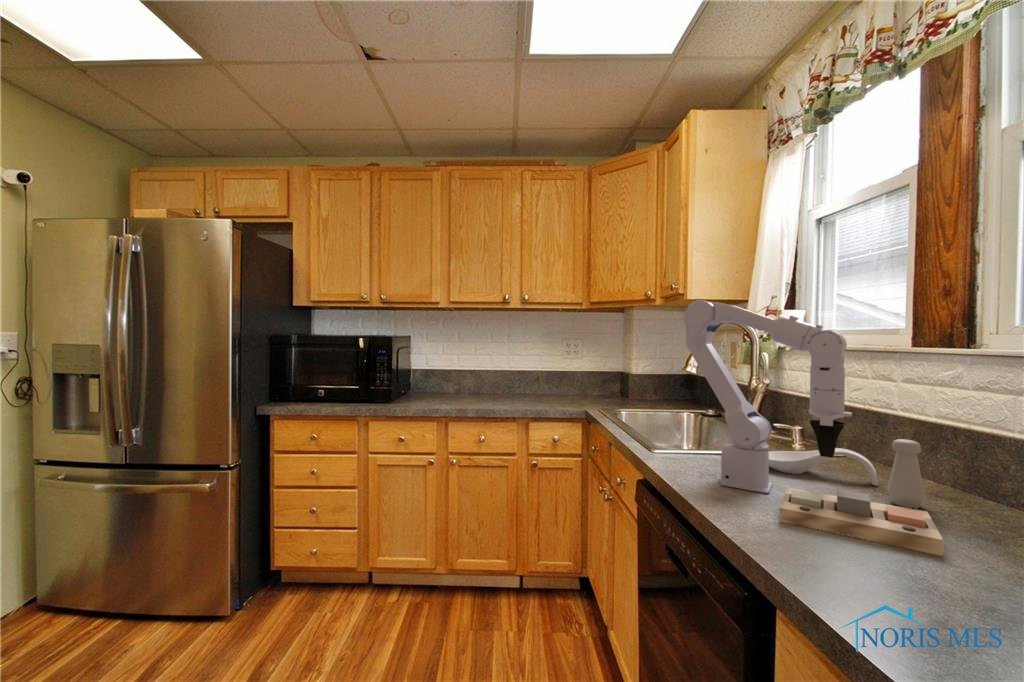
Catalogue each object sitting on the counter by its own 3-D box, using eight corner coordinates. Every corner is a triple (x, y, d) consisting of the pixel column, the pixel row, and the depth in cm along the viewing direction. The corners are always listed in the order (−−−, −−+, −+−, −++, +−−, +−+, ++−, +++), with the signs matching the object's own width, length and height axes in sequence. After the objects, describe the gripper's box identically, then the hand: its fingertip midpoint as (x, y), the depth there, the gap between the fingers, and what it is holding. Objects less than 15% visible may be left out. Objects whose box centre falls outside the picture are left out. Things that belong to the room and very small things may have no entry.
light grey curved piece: (757, 472, 111) (757, 443, 111) (764, 461, 121) (764, 435, 121) (879, 491, 97) (879, 459, 97) (875, 478, 107) (876, 448, 107)
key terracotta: (888, 531, 75) (888, 514, 75) (885, 522, 78) (885, 506, 78) (925, 539, 72) (925, 520, 72) (920, 529, 76) (921, 512, 76)
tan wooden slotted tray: (779, 521, 80) (779, 506, 80) (786, 499, 91) (786, 486, 91) (943, 556, 67) (943, 538, 67) (927, 525, 79) (927, 510, 79)
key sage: (790, 512, 83) (790, 496, 83) (792, 505, 87) (792, 489, 87) (820, 518, 80) (820, 501, 80) (821, 510, 84) (821, 494, 84)
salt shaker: (933, 511, 85) (934, 444, 85) (899, 509, 86) (899, 442, 86) (912, 501, 91) (913, 437, 91) (880, 498, 92) (881, 436, 92)
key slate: (837, 512, 79) (837, 496, 79) (836, 505, 82) (837, 489, 82) (870, 519, 76) (870, 501, 76) (868, 510, 80) (868, 494, 80)
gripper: (853, 394, 81) (852, 467, 81) (850, 387, 93) (850, 452, 93) (807, 391, 86) (806, 461, 86) (810, 385, 97) (809, 447, 97)
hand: (826, 456), depth 90 cm, fingers closed
